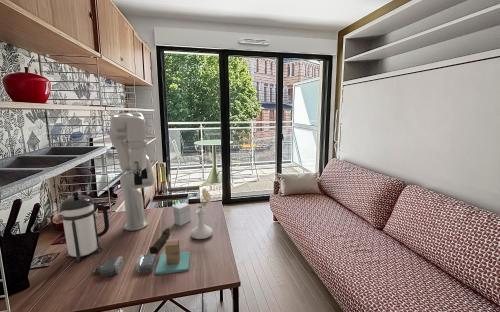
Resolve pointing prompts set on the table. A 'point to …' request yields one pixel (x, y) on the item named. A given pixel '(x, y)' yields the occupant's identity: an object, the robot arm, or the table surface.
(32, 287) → the table surface
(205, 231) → the flower in vase
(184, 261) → the mat
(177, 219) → the small box
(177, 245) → the wooden block
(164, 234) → the brown wooden branch
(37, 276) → the table surface
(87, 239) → the coffee press
